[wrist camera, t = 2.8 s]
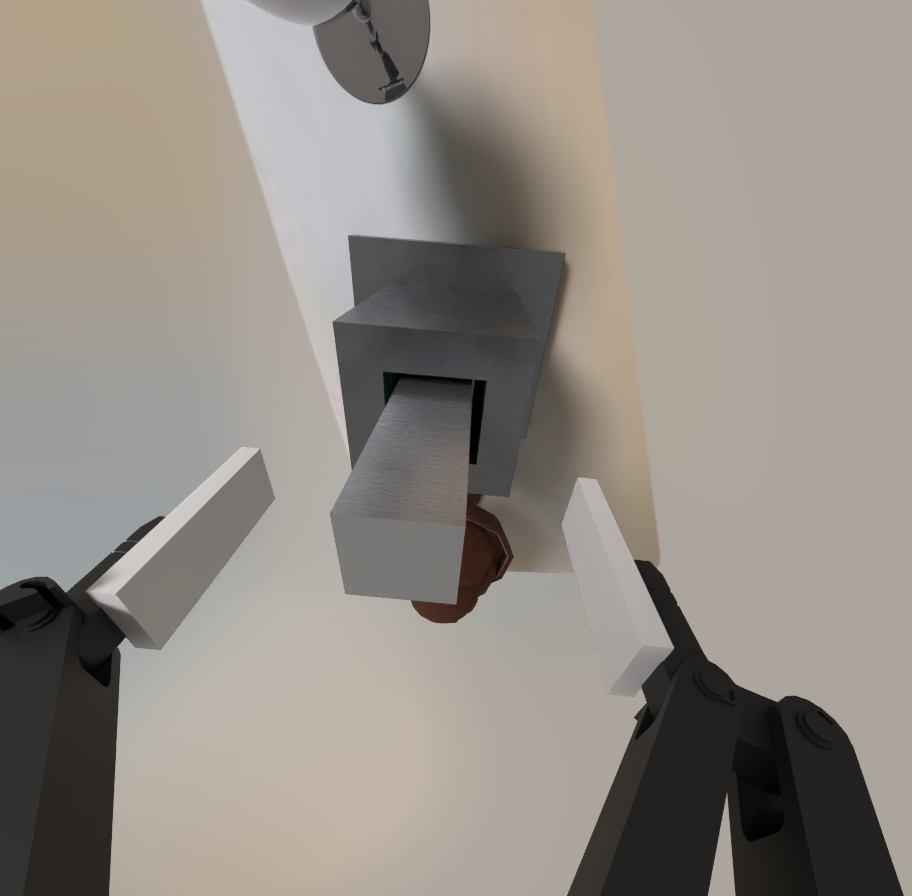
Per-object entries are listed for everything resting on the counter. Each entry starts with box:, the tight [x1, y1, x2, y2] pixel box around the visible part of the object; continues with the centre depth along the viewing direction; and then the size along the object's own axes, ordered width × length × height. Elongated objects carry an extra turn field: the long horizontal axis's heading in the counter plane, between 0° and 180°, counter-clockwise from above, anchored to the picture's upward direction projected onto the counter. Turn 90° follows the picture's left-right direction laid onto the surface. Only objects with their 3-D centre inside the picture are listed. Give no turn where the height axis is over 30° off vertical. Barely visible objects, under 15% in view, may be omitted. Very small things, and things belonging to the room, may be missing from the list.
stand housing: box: [333, 235, 565, 497], centre depth 24 cm, size 16×16×15 cm
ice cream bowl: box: [411, 493, 514, 623], centre depth 34 cm, size 11×11×15 cm
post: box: [330, 373, 474, 605], centre depth 20 cm, size 4×4×21 cm
